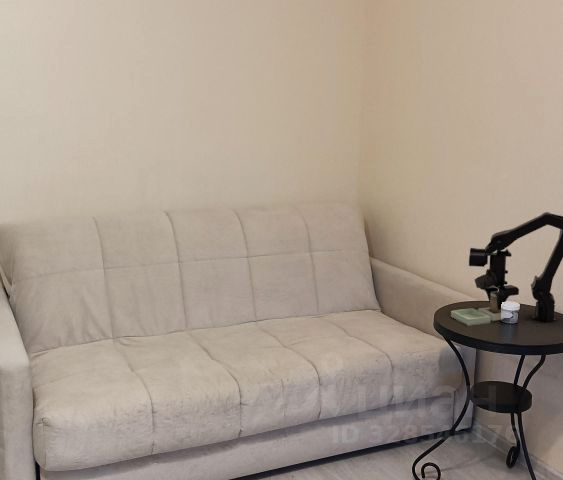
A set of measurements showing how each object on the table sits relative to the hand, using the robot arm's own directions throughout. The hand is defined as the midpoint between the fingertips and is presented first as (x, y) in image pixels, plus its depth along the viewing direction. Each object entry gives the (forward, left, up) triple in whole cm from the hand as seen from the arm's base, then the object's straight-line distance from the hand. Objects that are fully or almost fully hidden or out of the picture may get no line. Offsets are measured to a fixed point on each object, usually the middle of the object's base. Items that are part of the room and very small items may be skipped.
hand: (495, 308), depth 255 cm
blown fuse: (0, 0, -3) cm, 3 cm away
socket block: (0, 0, -3) cm, 3 cm away
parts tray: (-1, +12, -3) cm, 12 cm away
